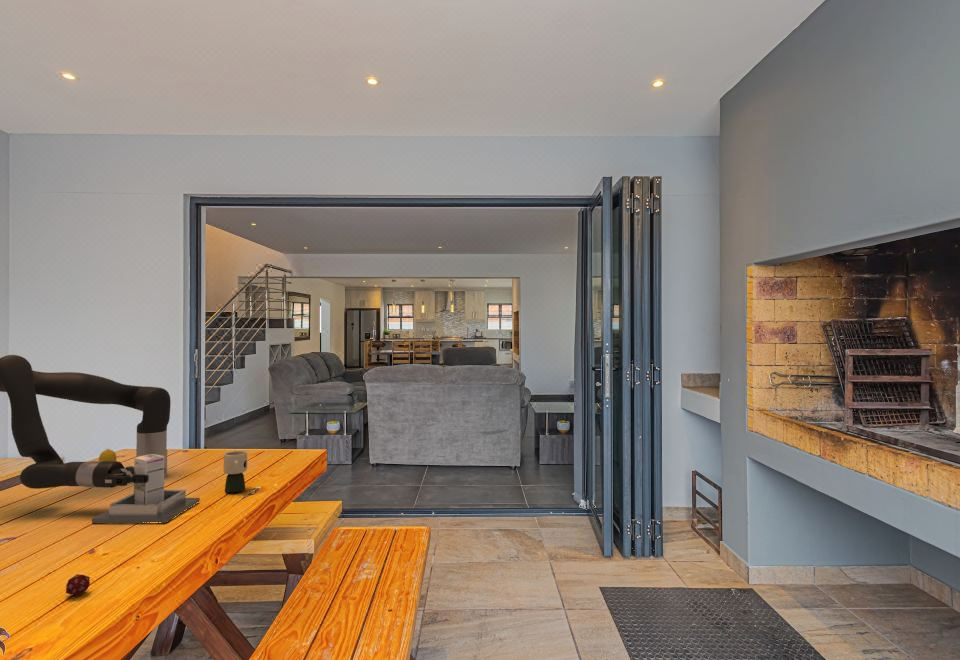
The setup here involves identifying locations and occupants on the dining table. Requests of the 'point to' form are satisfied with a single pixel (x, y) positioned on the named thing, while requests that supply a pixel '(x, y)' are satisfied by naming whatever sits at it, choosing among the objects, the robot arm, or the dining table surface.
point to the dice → (77, 584)
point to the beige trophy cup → (235, 470)
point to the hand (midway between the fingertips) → (156, 474)
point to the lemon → (107, 456)
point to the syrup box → (155, 485)
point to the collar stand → (147, 509)
